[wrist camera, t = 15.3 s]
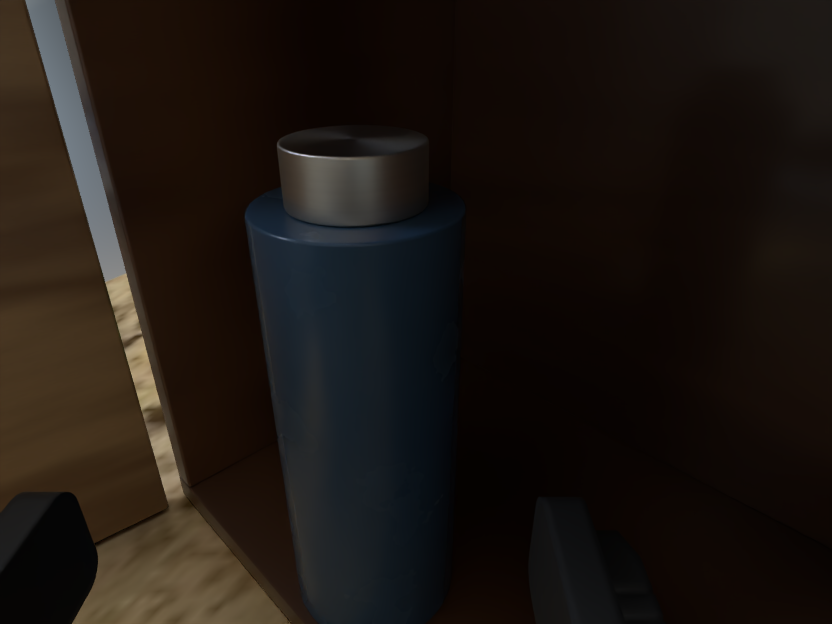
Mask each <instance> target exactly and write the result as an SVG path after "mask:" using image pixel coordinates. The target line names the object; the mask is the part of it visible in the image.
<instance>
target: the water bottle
mask: <svg viewBox="0 0 832 624" xmlns="http://www.w3.org/2000/svg"><path fill="white" fill-rule="evenodd" d="M277 153H278V161H279V170H280V179H281V187H279V188H276V189H273V190H271V191H268V192H266V193H264V194H262V195H260V196H258V197H257V198H255V199H254V200H253V201H252V202H251V203H249V205H248V206H247V208H246V210H245V214H244V218H245V224H246V231H247V238H248V245H249V251H250V258H251V265H252V271H253V278H254V285H255V292H256V298H257V305H258V312H259V318H260V325H261V332H262V339H263V345H264V352H265V359H266V365H267V372H268V379H269V386H270V392H271V399H272V406H273V412H274V419H275V426H276V433H277V439H278V446H279V453H280V460H281V466H282V473H283V480H284V486H285V493H286V500H287V507H288V513H289V520H290V527H291V533H292V540H293V547H294V554H295V560H296V567H297V574H298V580H299V587H300V593H301V596H302V599H303V602H304V604H305V606H306V608H307V610H308V612H309V613H310V614H311V616H312V617H313V618H314V619H315V620H316V621H317V622H318V623H319V624H425V623H426V622H428V621H429V620H430V619H431V618H432V617H433V616H434V615H435V614H436V612H437V611H438V610H439V608H440V607H441V606H442V604H443V602H444V600H445V598H446V596H447V594H448V591H449V588H450V584H451V578H452V554H453V530H454V505H455V480H456V455H457V431H458V406H459V381H460V357H461V332H462V307H463V282H464V258H465V233H466V204H465V202H464V200H463V199H462V198H461V196H460V195H458V194H457V193H456V192H454V191H452V190H450V189H448V188H446V187H443V186H441V185H437V184H434V183H431V182H429V140H428V138H427V137H426V136H425V135H424V134H422V133H419V132H417V131H413V130H410V129H405V128H399V127H391V126H379V125H342V126H328V127H319V128H313V129H307V130H302V131H298V132H294V133H291V134H289V135H286V136H284V137H282V138H281V139H279V141H278V142H277Z"/></svg>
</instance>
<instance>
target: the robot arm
mask: <svg viewBox="0 0 832 624" xmlns="http://www.w3.org/2000/svg"><path fill="white" fill-rule="evenodd" d="M97 567H98V555H97V550H96V547H95V545H94V542H93V539H92V537H91V534H90V532H89V529H88V526H87V524H86V521H85V518H84V516H83V513H82V510H81V508H80V505H79V502H78V500H77V498H76V496H75V495H74V494H73V493H71V492H21V493H19V494H17V495H16V496H15V497H14V498H13V499H12V500H11V501H10V502H9V503H8V504H7V506H6V507H5V508H4V509H3V510H2V512H1V513H0V624H72V622H73V621H74V619H75V617H76V615H77V614H78V612H79V610H80V608H81V606H82V605H83V603H84V601H85V599H86V597H87V596H88V594H89V592H90V590H91V588H92V586H93V583H94V580H95V577H96V573H97ZM528 574H529V587H530V594H531V600H532V606H533V611H534V616H535V622H536V624H667V623H666V622H664V620H663V613H662V611H661V608H660V605H659V603H658V600H657V598H656V595H654V594H653V588H652V585H651V583H650V580H649V578H648V575H647V573H646V570H645V567H644V565H643V562H642V560H641V557H640V556H639V555H638V554H637V553H636V551H635V550H634V549H633V548H632V547H631V546H630V544H629V543H628V542H627V541H626V540H625V539H624V538H623V536H622V535H621V534H620V533H619V532H618V531H617V530H595V528H594V525H593V522H592V519H591V516H590V512H589V509H588V507H587V504H586V502H585V500H584V499H583V498H582V497H538V498H537V501H536V507H535V514H534V521H533V529H532V536H531V543H530V550H529V560H528Z"/></svg>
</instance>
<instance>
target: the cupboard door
mask: <svg viewBox="0 0 832 624" xmlns="http://www.w3.org/2000/svg"><path fill="white" fill-rule="evenodd" d="M21 492H71V493H73V494H74V495H75V496H76V498H77V500H78V502H79V505H80V508H81V510H82V513H83V516H84V518H85V521H86V524H87V526H88V529H89V532H90V534H91V537H92V539H93V542H94V543H96V542H98V541H100V540H102V539H104V538H106V537H108V536H110V535H112V534H114V533H116V532H118V531H120V530H123V529H125V528H127V527H129V526H131V525H133V524H135V523H137V522H139V521H141V520H143V519H145V518H147V517H149V516H152V515H154V514H156V513H158V512H160V511H162V510H164V509H166V508H168V502H167V499H166V495H165V492H164V488H163V485H162V481H161V478H160V474H159V471H158V467H157V464H156V460H155V456H154V453H153V449H152V446H151V442H150V439H149V435H148V432H147V428H146V425H145V421H144V418H143V414H142V411H141V407H140V404H139V400H138V397H137V393H136V389H135V386H134V382H133V379H132V375H131V372H130V368H129V365H128V361H127V358H126V354H125V351H124V347H123V344H122V340H121V337H120V333H119V330H118V326H117V322H116V319H115V315H114V312H113V308H112V305H111V301H110V298H109V294H108V291H107V287H106V284H105V281H104V277H103V273H102V270H101V266H100V263H99V259H98V255H97V252H96V248H95V245H94V242H93V238H92V234H91V231H90V227H89V224H88V220H87V217H86V213H85V210H84V206H83V203H82V199H81V196H80V192H79V189H78V185H77V181H76V178H75V174H74V171H73V167H72V164H71V160H70V157H69V153H68V150H67V146H66V143H65V139H64V136H63V132H62V129H61V125H60V121H59V118H58V114H57V111H56V107H55V104H54V100H53V97H52V93H51V90H50V86H49V83H48V79H47V76H46V72H45V69H44V65H43V62H42V58H41V54H40V51H39V47H38V44H37V40H36V37H35V33H34V30H33V26H32V23H31V19H30V16H29V12H28V9H27V5H26V2H25V0H0V513H1V512H2V510H3V509H4V508H5V507H6V506H7V504H8V503H9V502H10V501H11V500H12V499H13V498H14V497H15V496H16V495H17V494H19V493H21Z"/></svg>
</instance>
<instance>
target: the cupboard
mask: <svg viewBox="0 0 832 624" xmlns="http://www.w3.org/2000/svg"><path fill="white" fill-rule="evenodd" d="M55 3H56V6H57V10H58V14H59V18H60V21H61V25H62V29H63V33H64V37H65V41H66V44H67V48H68V52H69V56H70V60H71V64H72V67H73V71H74V75H75V79H76V83H77V86H78V90H79V94H80V98H81V102H82V105H83V109H84V113H85V117H86V121H87V125H88V128H89V132H90V136H91V140H92V143H93V147H94V151H95V155H96V159H97V163H98V166H99V170H100V174H101V178H102V182H103V186H104V189H105V193H106V197H107V201H108V204H109V209H110V212H111V216H112V220H113V224H114V228H115V231H116V235H117V239H118V243H119V247H120V250H121V254H122V258H123V262H124V266H125V270H126V273H127V277H128V281H129V285H130V289H131V292H132V296H133V300H134V304H135V308H136V312H137V315H138V319H139V323H140V327H141V331H142V334H143V338H144V342H145V346H146V350H147V354H148V357H149V361H150V365H151V369H152V373H153V376H154V380H155V384H156V388H157V392H158V395H159V399H160V403H161V407H162V411H163V415H164V418H165V422H166V426H167V430H168V434H169V437H170V441H171V445H172V449H173V453H174V457H175V460H176V464H177V468H178V472H179V475H180V481H181V484H182V488H183V492H184V494H185V495H186V497H187V498H188V499H189V500H190V501H191V503H192V504H193V505H194V506H195V507H196V509H197V510H198V511H199V512H200V513H201V515H202V516H203V517H204V518H205V519H206V521H207V522H208V523H209V524H210V525H211V527H212V528H213V529H214V530H215V531H216V533H217V534H218V535H219V536H220V537H221V539H222V540H223V541H224V542H225V544H226V545H227V546H228V547H229V548H230V550H231V551H232V552H233V553H234V554H235V556H236V557H237V558H238V559H239V560H240V562H241V563H242V564H243V565H244V566H245V568H246V569H247V570H248V571H249V572H250V574H251V575H252V576H253V577H254V578H255V580H256V581H257V582H258V583H259V584H260V586H261V587H262V588H263V589H264V590H265V592H266V593H267V594H268V595H269V596H270V598H271V599H272V600H273V601H274V602H275V604H276V605H277V606H278V607H279V609H280V610H281V611H282V612H283V613H284V615H285V616H286V617H287V618H288V619H289V621H290V622H291V623H292V624H319V623H318V622H317V621H316V620H315V619H314V618H313V617H312V616H311V614H310V613H309V612H308V610H307V608H306V606H305V604H304V602H303V599H302V596H301V593H300V587H299V580H298V574H297V567H296V560H295V554H294V547H293V540H292V533H291V527H290V520H289V513H288V507H287V500H286V493H285V486H284V480H283V473H282V466H281V460H280V453H279V446H278V439H277V433H276V426H275V419H274V412H273V406H272V399H271V392H270V386H269V379H268V372H267V365H266V359H265V352H264V345H263V339H262V332H261V325H260V318H259V312H258V305H257V298H256V292H255V285H254V278H253V271H252V265H251V258H250V251H249V245H248V238H247V231H246V224H245V218H244V214H245V210H246V208H247V206H248V205H249V203H251V202H252V201H253V200H254V199H255V198H257V197H258V196H260V195H262V194H264V193H266V192H268V191H271V190H273V189H276V188H279V187H281V179H280V170H279V161H278V153H277V142H278V141H279V139H281V138H282V137H284V136H286V135H289V134H291V133H294V132H298V131H302V130H307V129H313V128H319V127H328V126H342V125H379V126H391V127H399V128H405V129H410V130H413V131H417V132H419V133H422V134H424V135H425V136H426V137H427V138H428V140H429V182H431V183H434V184H437V185H441V186H443V187H446V188H448V189H450V190H452V191H454V192H456V193H457V194H458V195H460V196H461V198H462V199H463V200H464V202H465V204H466V233H465V258H464V282H463V307H462V332H461V357H460V381H459V406H458V431H457V455H456V480H455V505H454V530H453V554H452V578H451V584H450V588H449V591H448V594H447V596H446V598H445V600H444V602H443V604H442V606H441V607H440V608H439V610H438V611H437V612H436V614H435V615H434V616H433V617H432V618H431V619H430V620H429V621H428V622H426V623H425V624H536V622H535V616H534V611H533V606H532V600H531V594H530V587H529V574H528V560H529V550H530V543H531V536H532V529H533V521H534V514H535V507H536V501H537V498H538V497H582V498H583V499H584V500H585V502H586V504H587V507H588V509H589V512H590V516H591V519H592V522H593V525H594V528H595V530H617V531H618V532H619V533H620V534H621V535H622V536H623V538H624V539H625V540H626V541H627V542H628V543H629V544H630V546H631V547H632V548H633V549H634V550H635V551H636V553H637V554H638V555H639V556H640V557H641V560H642V562H643V565H644V567H645V570H646V573H647V575H648V578H649V580H650V583H651V585H652V588H653V594H654V595H656V598H657V600H658V603H659V605H660V608H661V611H662V613H663V620H664V622H666V623H667V624H832V0H55Z"/></svg>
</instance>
